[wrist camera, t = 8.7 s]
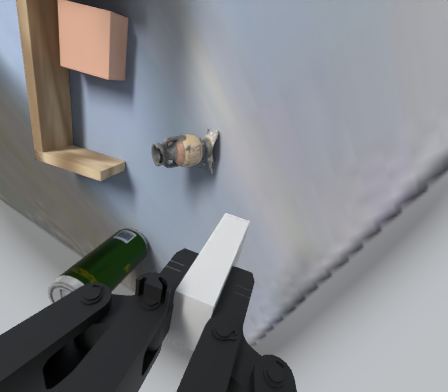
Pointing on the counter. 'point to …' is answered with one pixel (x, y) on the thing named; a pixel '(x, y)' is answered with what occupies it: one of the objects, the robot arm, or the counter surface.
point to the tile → (92, 40)
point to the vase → (184, 150)
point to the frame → (54, 95)
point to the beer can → (103, 264)
